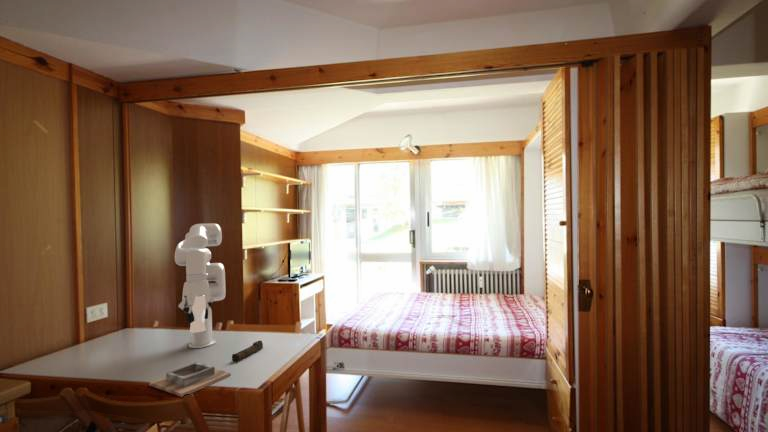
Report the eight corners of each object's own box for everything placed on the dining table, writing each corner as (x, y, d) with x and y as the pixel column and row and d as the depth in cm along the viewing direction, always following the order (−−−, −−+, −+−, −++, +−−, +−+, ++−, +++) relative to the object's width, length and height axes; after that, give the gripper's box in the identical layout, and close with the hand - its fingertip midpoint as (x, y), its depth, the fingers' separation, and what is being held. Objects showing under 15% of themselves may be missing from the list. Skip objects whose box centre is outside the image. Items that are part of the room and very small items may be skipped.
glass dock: (149, 385, 139) (149, 374, 140) (197, 366, 157) (197, 357, 157) (182, 397, 129) (182, 385, 129) (230, 375, 146) (230, 365, 146)
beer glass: (188, 334, 146) (187, 297, 146) (188, 330, 152) (187, 295, 152) (207, 331, 149) (206, 295, 150) (206, 327, 155) (205, 293, 156)
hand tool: (238, 363, 160) (238, 353, 160) (231, 362, 162) (231, 351, 162) (267, 349, 178) (266, 339, 178) (260, 348, 179) (260, 339, 179)
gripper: (209, 275, 161) (210, 315, 160) (170, 280, 146) (171, 324, 145) (220, 275, 157) (221, 316, 156) (181, 281, 142) (182, 326, 141)
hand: (197, 320), depth 151 cm, fingers closed on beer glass, 6 cm apart
